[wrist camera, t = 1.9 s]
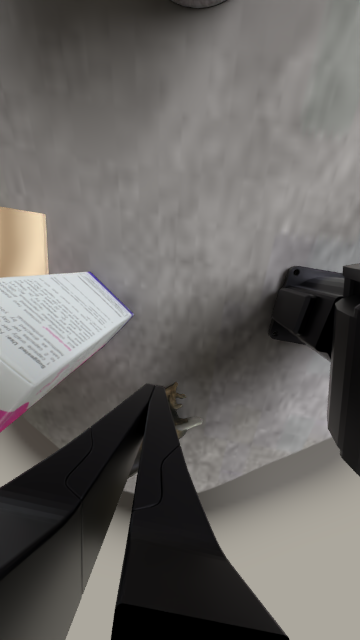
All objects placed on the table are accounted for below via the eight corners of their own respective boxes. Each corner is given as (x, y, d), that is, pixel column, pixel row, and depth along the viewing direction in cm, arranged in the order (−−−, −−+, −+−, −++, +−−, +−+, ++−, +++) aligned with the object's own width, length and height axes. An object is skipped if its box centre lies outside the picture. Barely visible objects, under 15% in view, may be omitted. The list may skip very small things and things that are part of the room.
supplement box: (88, 268, 17) (-101, 277, 6) (135, 313, 18) (43, 391, 7) (54, 310, 19) (-147, 377, 8) (99, 350, 19) (-22, 461, 9)
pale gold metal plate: (45, 214, 16) (42, 213, 16) (53, 357, 20) (50, 359, 20) (-54, 198, 16) (-60, 196, 16) (-26, 342, 20) (-31, 344, 20)
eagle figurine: (122, 371, 19) (101, 448, 20) (147, 420, 13) (116, 527, 14) (183, 372, 23) (163, 436, 24) (223, 410, 17) (195, 492, 18)
